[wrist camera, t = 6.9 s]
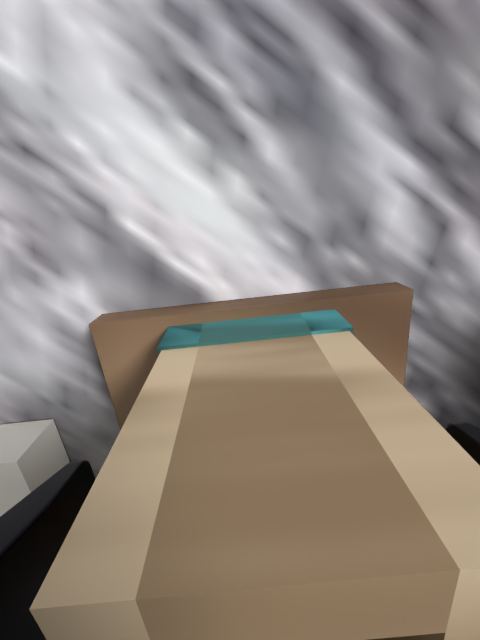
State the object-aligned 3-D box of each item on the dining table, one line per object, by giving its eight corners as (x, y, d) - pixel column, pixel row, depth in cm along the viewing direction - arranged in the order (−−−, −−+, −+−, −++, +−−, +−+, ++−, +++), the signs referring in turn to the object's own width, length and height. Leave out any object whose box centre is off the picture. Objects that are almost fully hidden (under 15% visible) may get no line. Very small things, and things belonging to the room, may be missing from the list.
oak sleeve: (333, 442, 11) (482, 783, 4) (194, 456, 11) (138, 811, 5) (334, 309, 9) (585, 552, 3) (168, 326, 9) (13, 604, 3)
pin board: (375, 557, 15) (462, 769, 9) (175, 576, 15) (141, 795, 9) (396, 282, 10) (605, 374, 4) (101, 314, 10) (-60, 442, 5)
